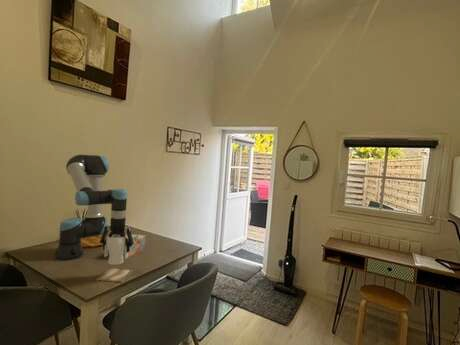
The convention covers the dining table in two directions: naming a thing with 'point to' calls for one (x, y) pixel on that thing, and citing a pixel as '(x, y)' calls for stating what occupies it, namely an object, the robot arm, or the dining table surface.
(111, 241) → the cup
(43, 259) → the dining table surface
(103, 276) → the picture frame
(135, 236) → the stack of blocks
